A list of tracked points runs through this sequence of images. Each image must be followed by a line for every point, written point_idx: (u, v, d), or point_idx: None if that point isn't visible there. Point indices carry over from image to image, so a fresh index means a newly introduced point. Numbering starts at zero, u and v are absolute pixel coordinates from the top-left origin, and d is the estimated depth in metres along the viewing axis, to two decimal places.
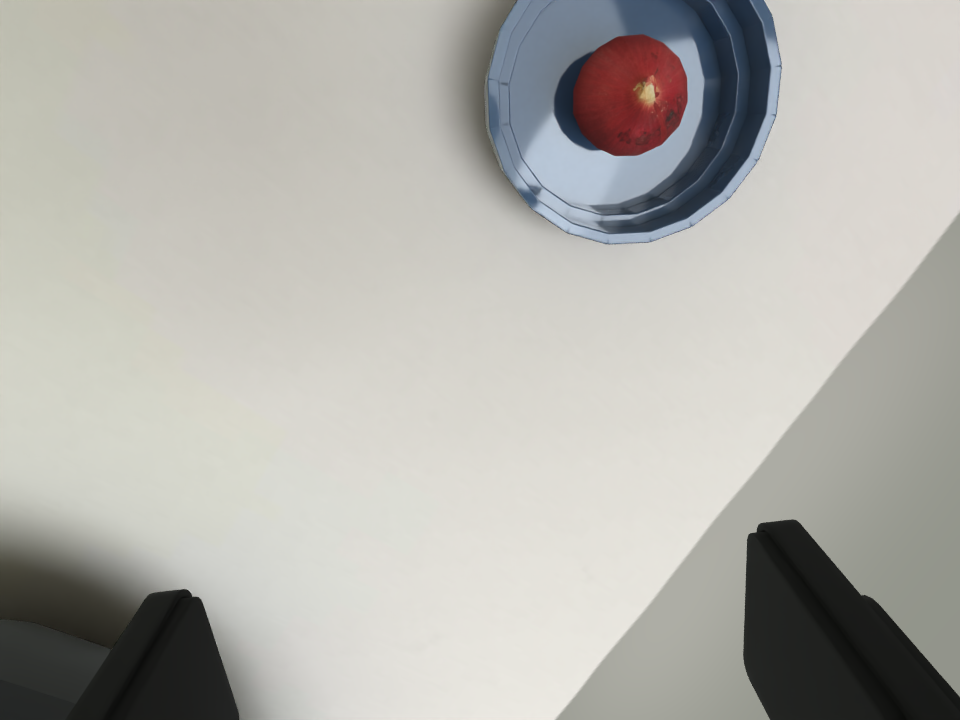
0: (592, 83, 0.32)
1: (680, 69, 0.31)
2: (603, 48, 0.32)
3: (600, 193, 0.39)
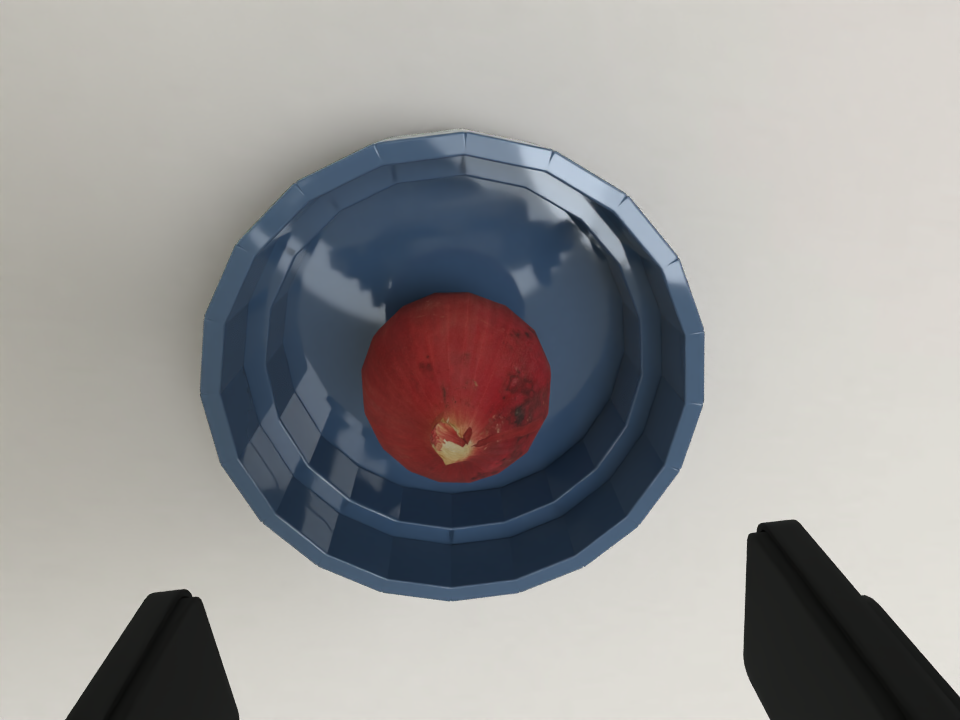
0: (383, 442, 0.19)
1: (481, 338, 0.18)
2: (363, 379, 0.19)
3: (534, 447, 0.25)
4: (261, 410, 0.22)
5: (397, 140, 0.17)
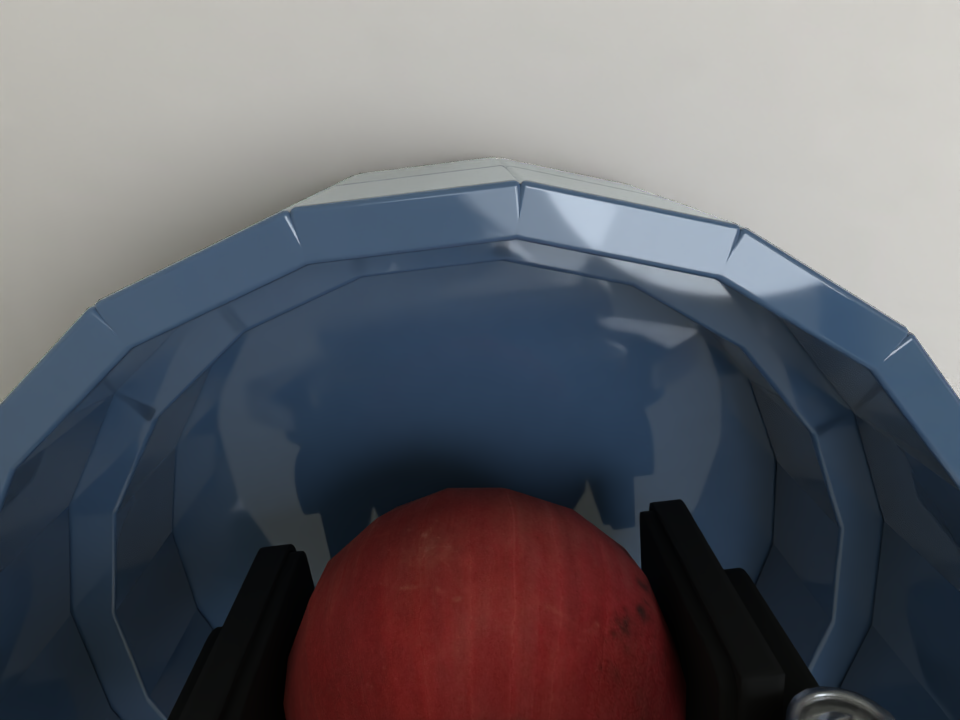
0: None
1: (551, 668, 0.07)
2: (285, 703, 0.09)
3: None
4: (113, 685, 0.11)
5: (346, 202, 0.06)
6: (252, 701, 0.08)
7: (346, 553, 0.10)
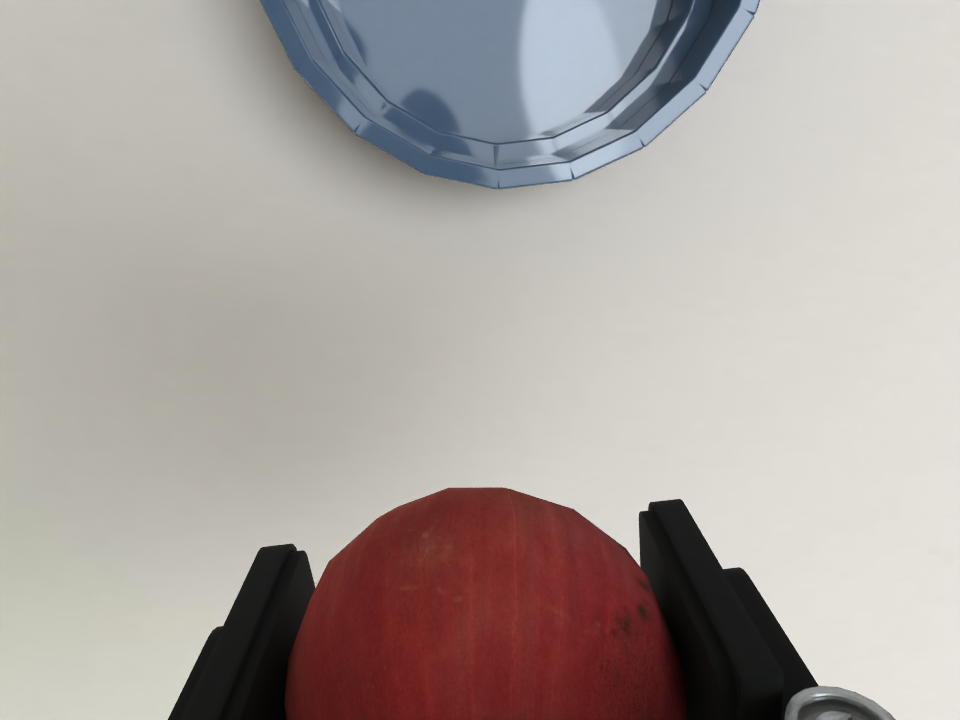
0: None
1: (552, 668, 0.07)
2: (286, 703, 0.09)
3: (584, 85, 0.23)
4: None
5: None
6: (253, 701, 0.08)
7: (347, 553, 0.10)
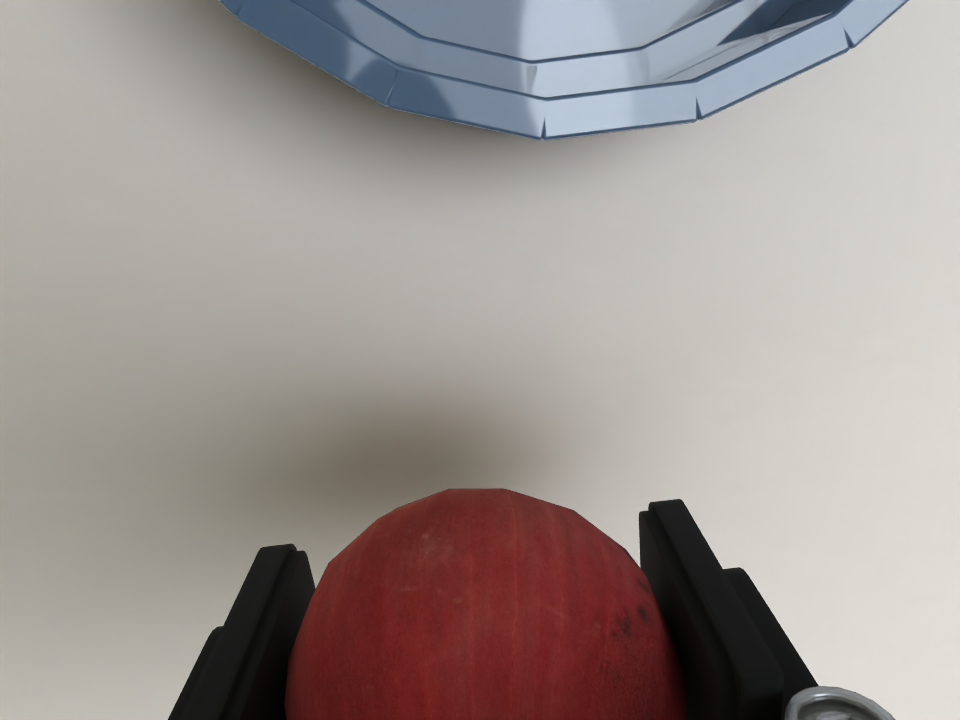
0: None
1: (552, 669, 0.07)
2: (286, 704, 0.09)
3: None
4: None
5: None
6: (253, 701, 0.08)
7: (347, 554, 0.10)
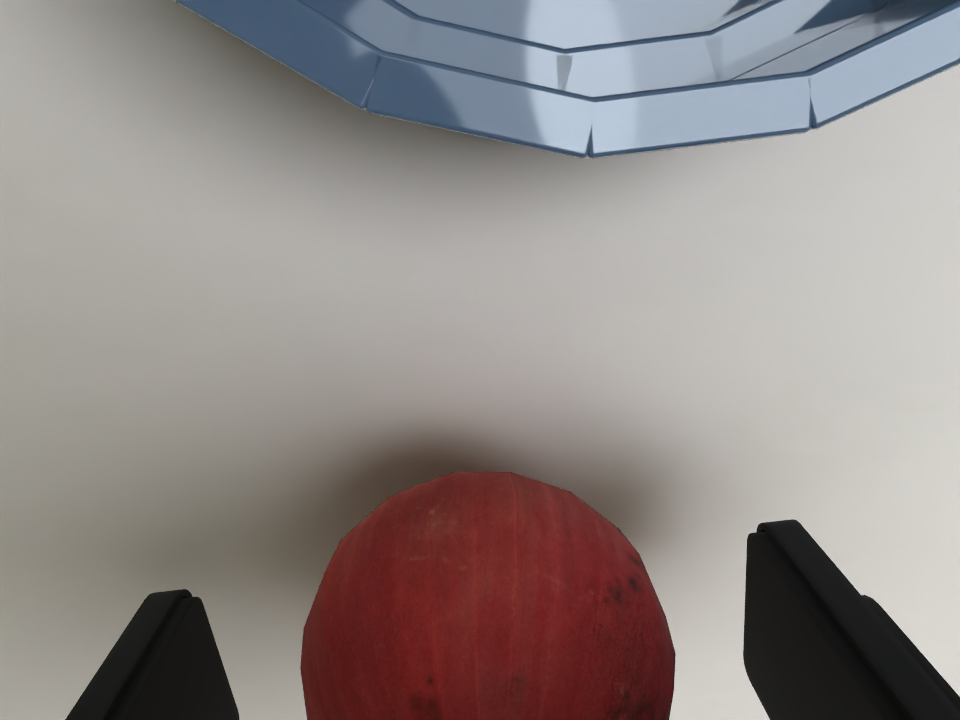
0: None
1: (548, 629, 0.08)
2: (302, 667, 0.09)
3: None
4: None
5: None
6: None
7: (358, 531, 0.10)
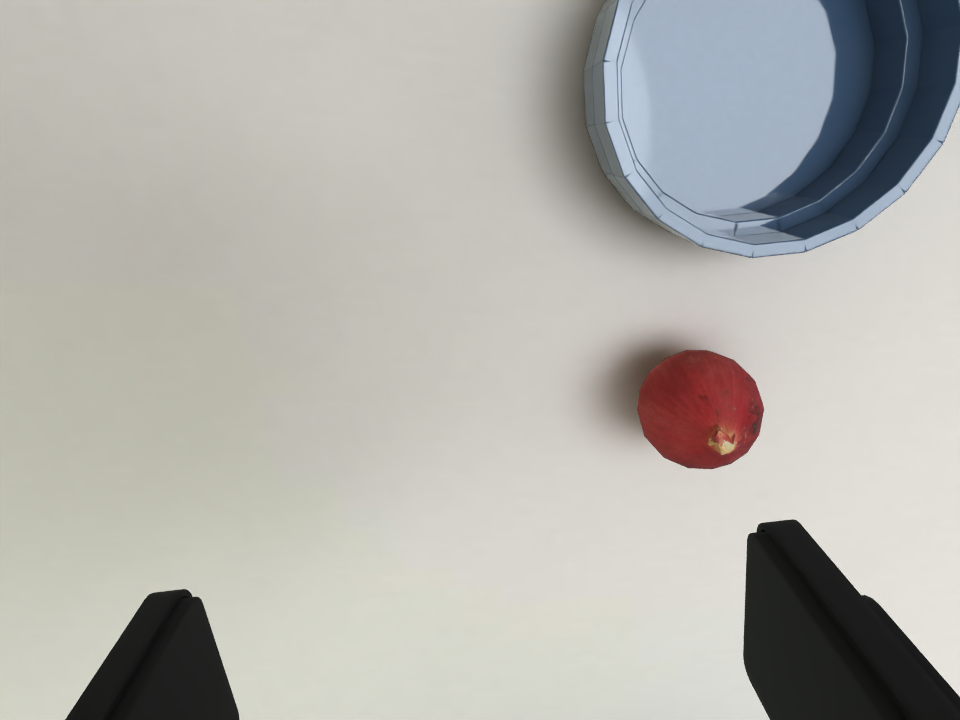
0: (663, 442, 0.31)
1: (733, 381, 0.30)
2: (649, 403, 0.31)
3: (789, 176, 0.32)
4: None
5: None
6: None
7: (659, 367, 0.32)
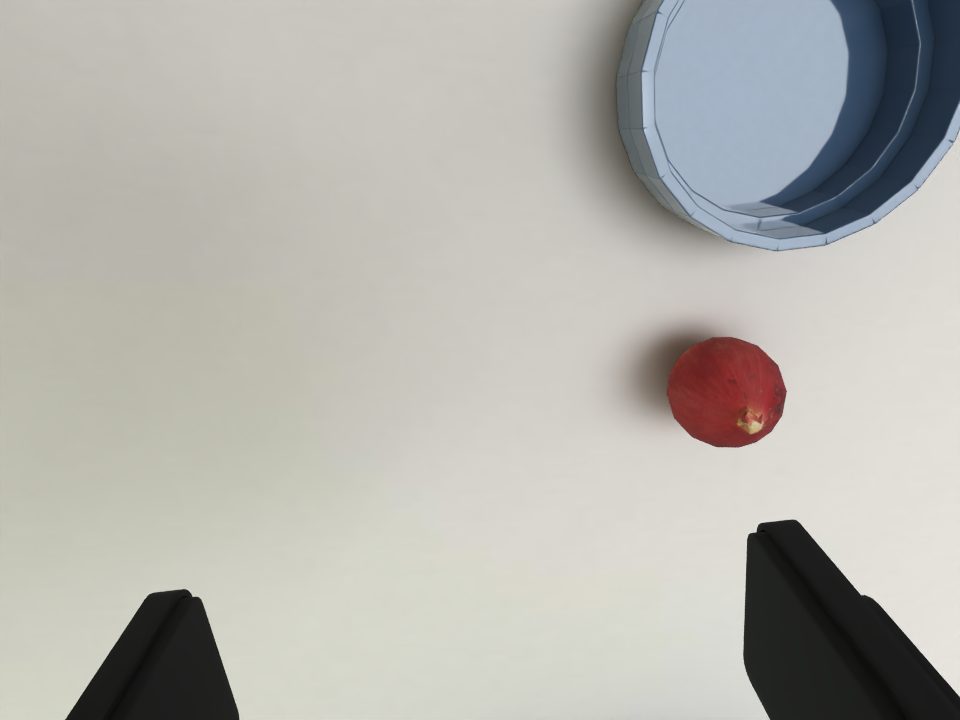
0: (693, 423, 0.33)
1: (759, 366, 0.32)
2: (680, 388, 0.33)
3: (808, 173, 0.34)
4: None
5: None
6: None
7: (687, 353, 0.34)
